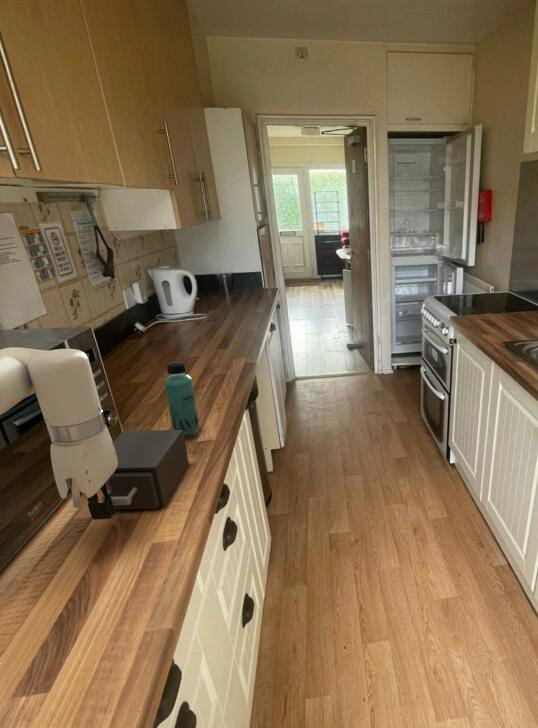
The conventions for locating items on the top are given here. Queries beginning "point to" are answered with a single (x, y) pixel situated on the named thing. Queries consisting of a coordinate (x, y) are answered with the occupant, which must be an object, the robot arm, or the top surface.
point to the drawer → (134, 490)
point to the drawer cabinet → (154, 457)
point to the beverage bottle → (181, 399)
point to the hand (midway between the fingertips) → (104, 516)
